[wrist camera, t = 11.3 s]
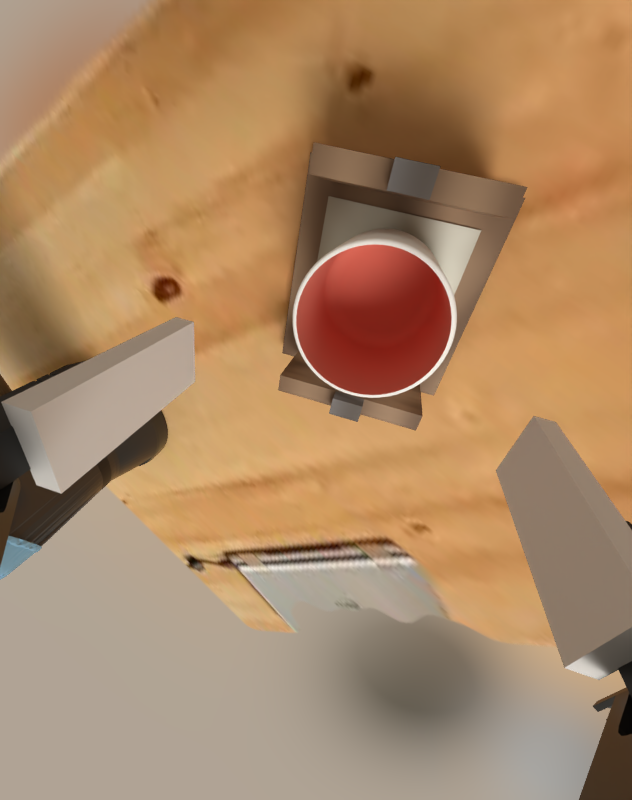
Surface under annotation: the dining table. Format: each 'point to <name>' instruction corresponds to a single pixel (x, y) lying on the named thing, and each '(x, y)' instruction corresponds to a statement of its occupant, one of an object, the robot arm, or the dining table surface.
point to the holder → (409, 212)
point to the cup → (375, 314)
